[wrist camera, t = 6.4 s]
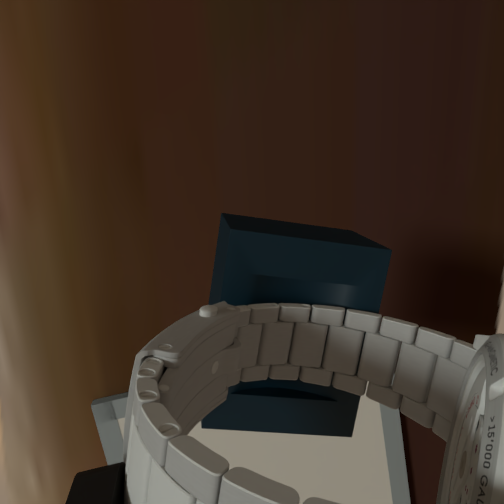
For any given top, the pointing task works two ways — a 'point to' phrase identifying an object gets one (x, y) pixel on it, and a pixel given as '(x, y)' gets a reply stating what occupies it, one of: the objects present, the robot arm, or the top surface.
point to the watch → (303, 370)
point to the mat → (299, 454)
